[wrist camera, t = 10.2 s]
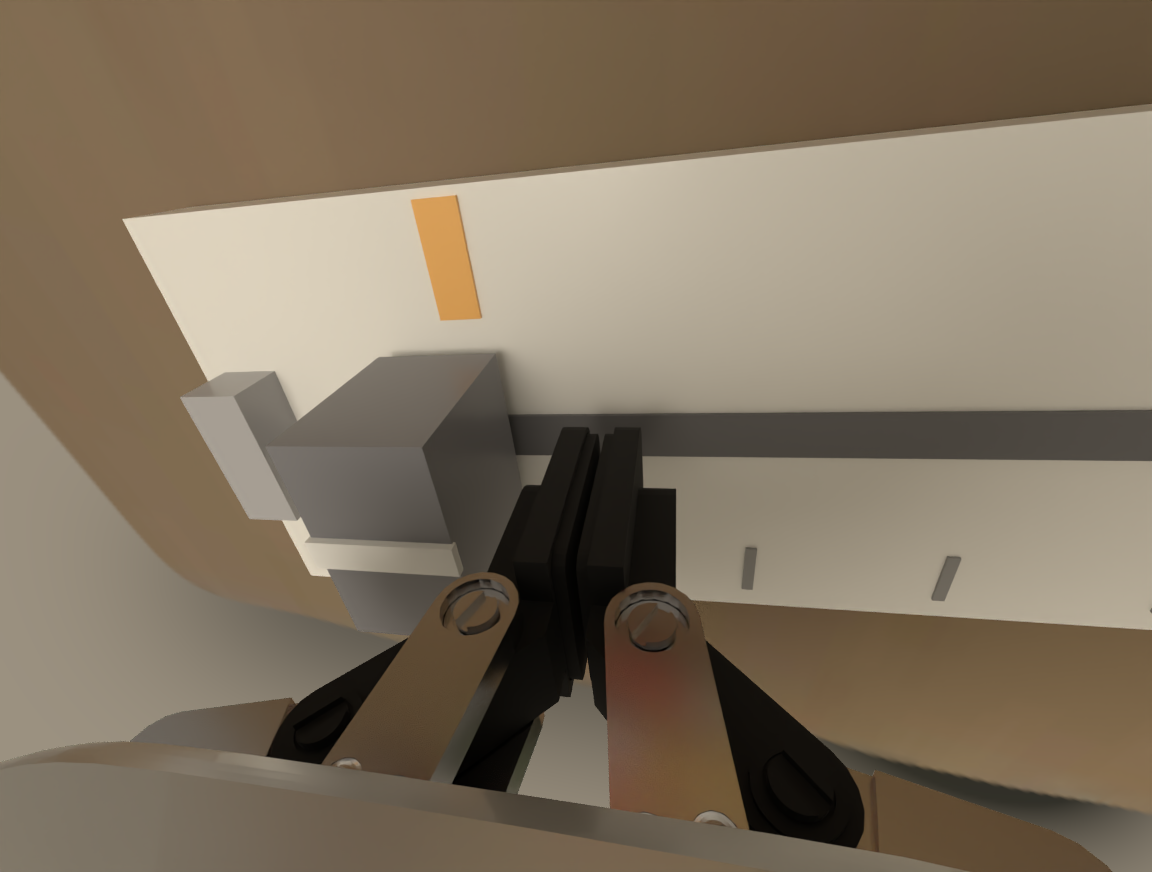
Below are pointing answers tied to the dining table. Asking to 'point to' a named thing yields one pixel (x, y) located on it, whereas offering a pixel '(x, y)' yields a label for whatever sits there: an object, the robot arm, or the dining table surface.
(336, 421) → the fader knob
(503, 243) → the console board
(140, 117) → the dining table surface
